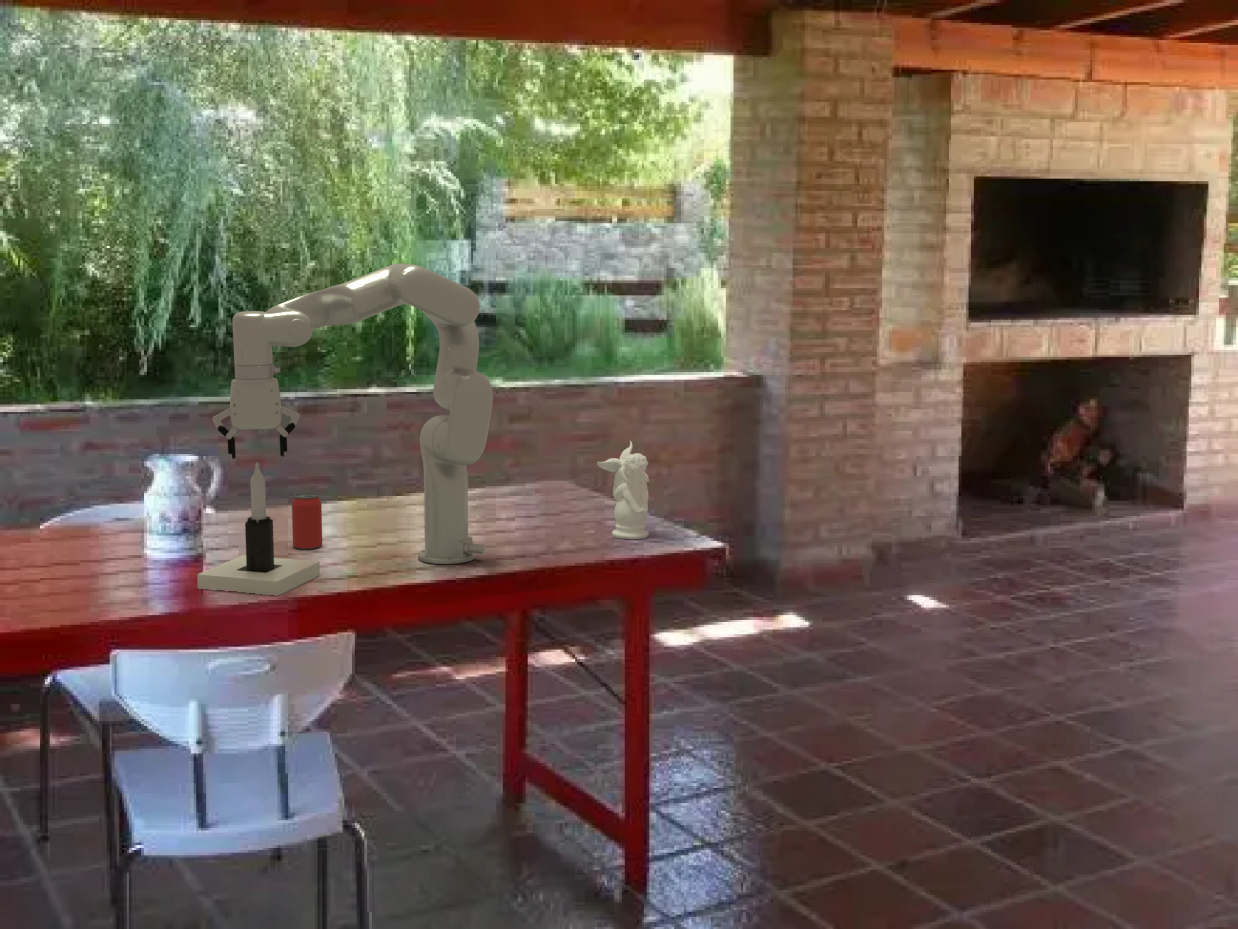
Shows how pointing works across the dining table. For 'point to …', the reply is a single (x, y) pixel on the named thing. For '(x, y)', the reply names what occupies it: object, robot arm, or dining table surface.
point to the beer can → (307, 521)
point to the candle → (259, 529)
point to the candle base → (259, 576)
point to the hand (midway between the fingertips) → (258, 456)
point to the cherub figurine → (629, 494)
